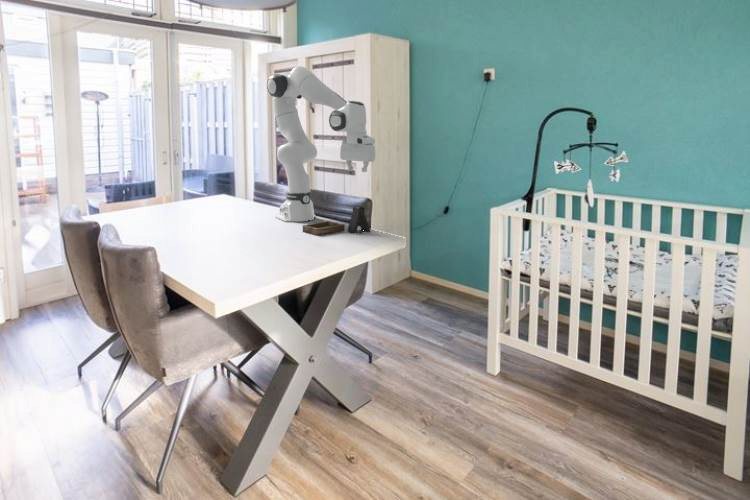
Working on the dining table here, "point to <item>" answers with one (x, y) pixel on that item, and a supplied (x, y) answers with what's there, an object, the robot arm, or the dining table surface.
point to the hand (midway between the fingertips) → (357, 171)
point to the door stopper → (358, 220)
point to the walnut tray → (323, 228)
